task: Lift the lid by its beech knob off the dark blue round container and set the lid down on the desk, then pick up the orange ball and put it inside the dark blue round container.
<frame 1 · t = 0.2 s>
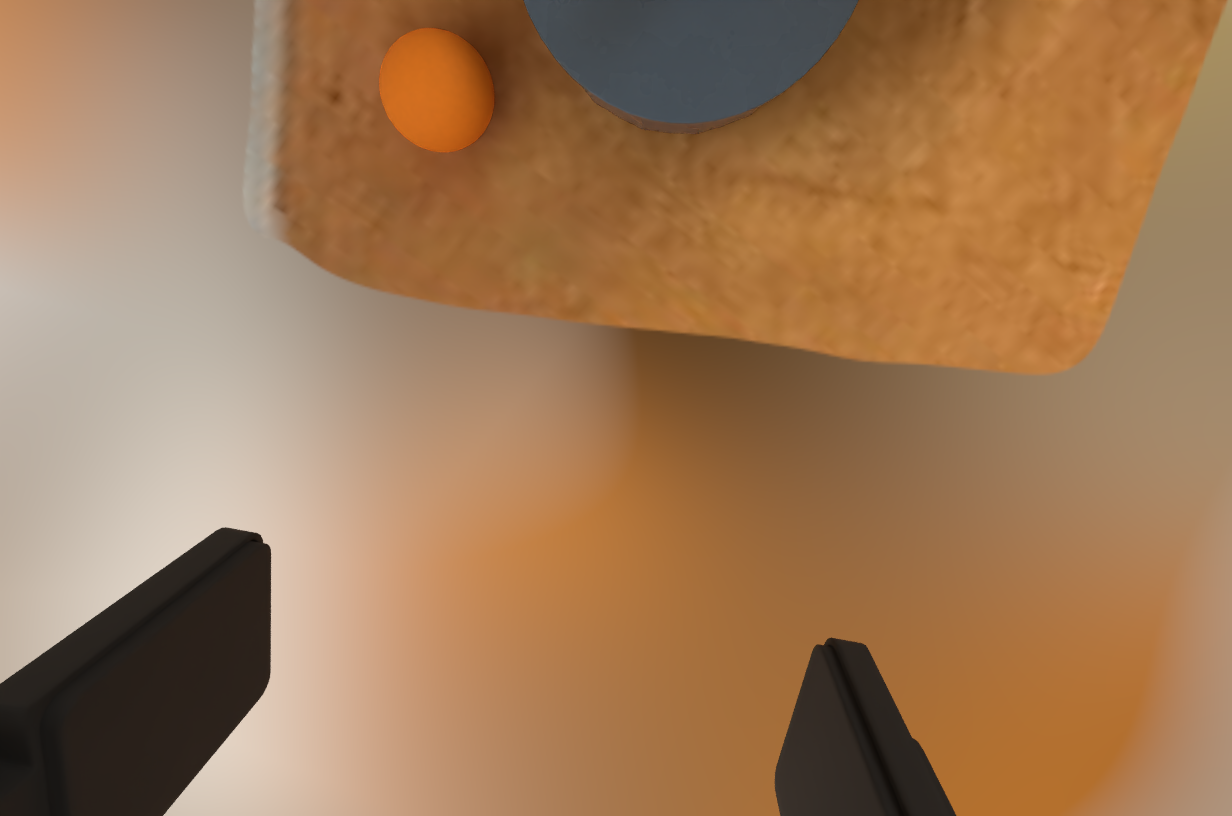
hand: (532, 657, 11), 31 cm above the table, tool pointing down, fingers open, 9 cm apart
orange ball: (438, 92, 34), point 3 cm above the table
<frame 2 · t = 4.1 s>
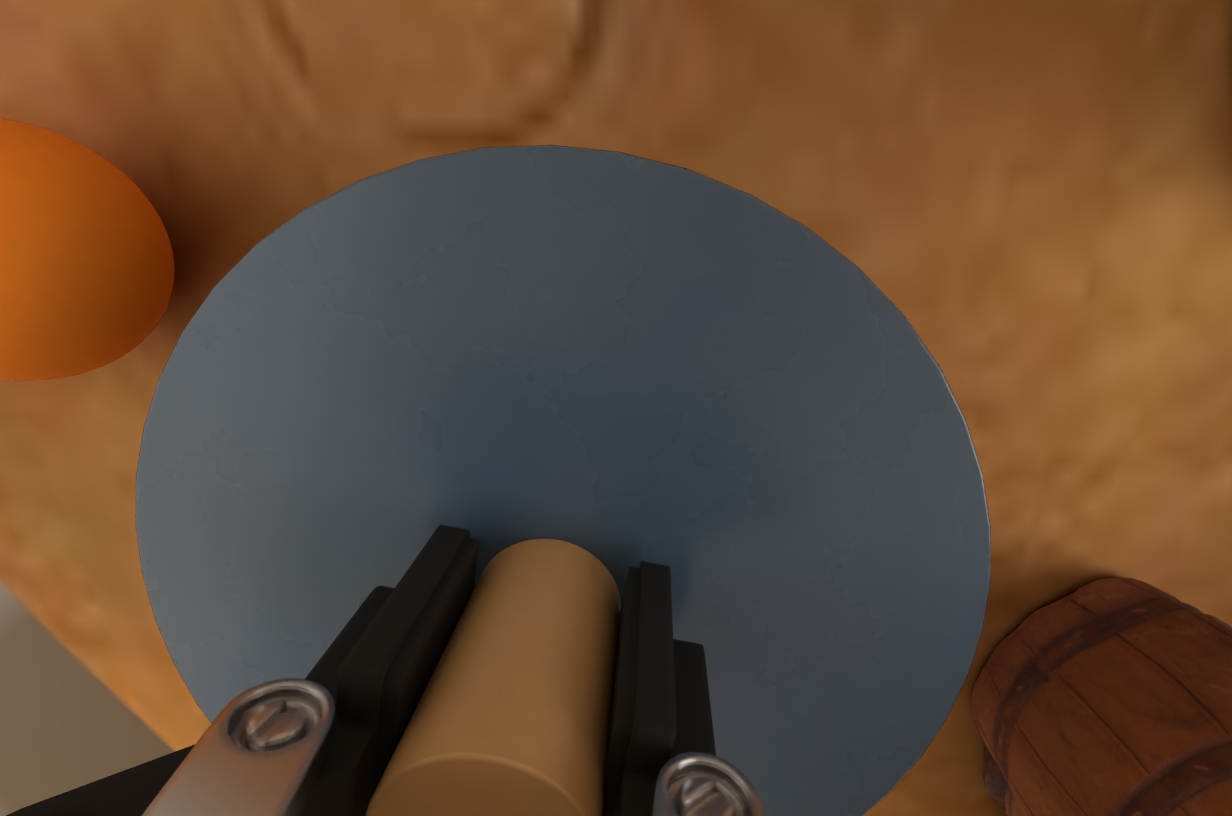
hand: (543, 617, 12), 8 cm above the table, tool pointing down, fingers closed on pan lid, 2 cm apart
pan lid: (552, 587, 13), point 7 cm above the table, touching gripper, dark blue round container
orange ball: (20, 254, 15), point 3 cm above the table
wooden figurine: (1068, 721, 21), on the table
when the fingers open (1 cm above the table, at t = 26.0 s): pan lid stays where it is, point 1 cm above the table.
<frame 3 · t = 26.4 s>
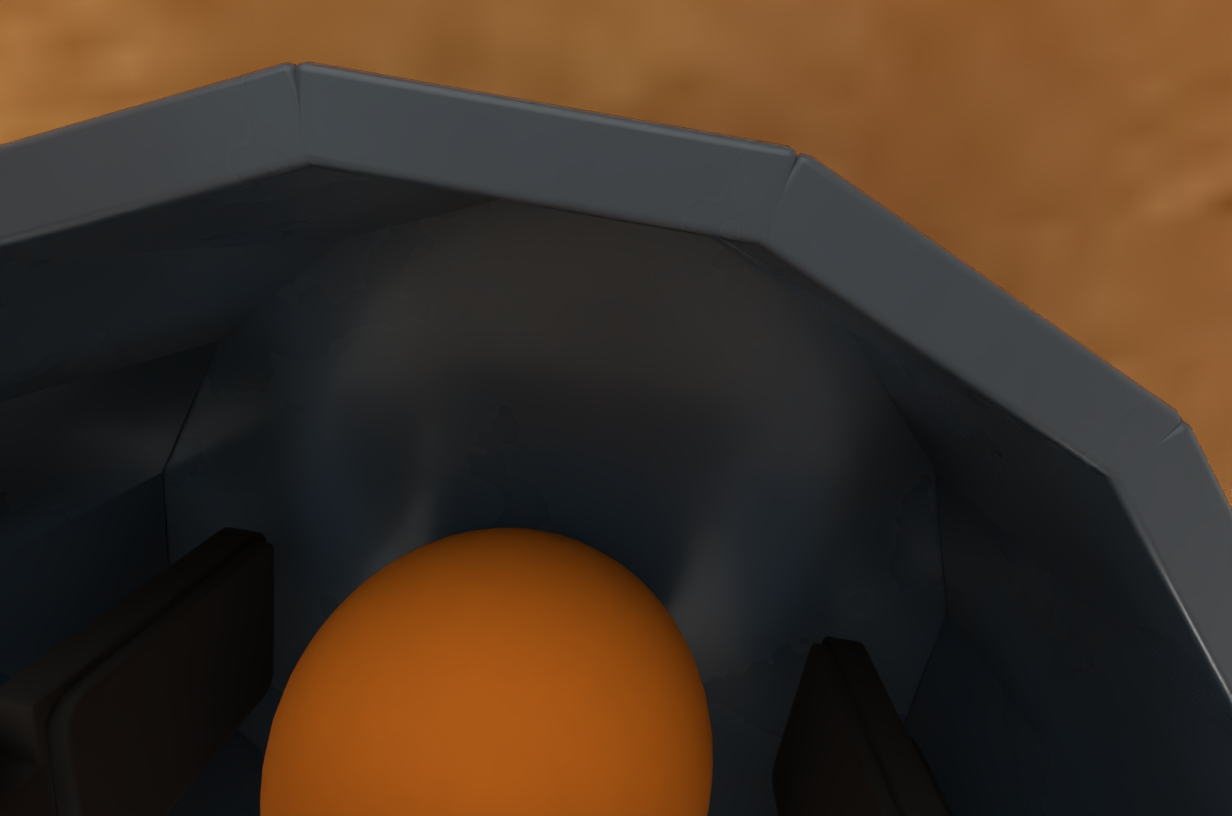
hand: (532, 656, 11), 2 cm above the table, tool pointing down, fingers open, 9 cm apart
orange ball: (501, 740, 9), point 3 cm above the table, tilted 7°, touching dark blue round container
dark blue round container: (547, 592, 12), on the table
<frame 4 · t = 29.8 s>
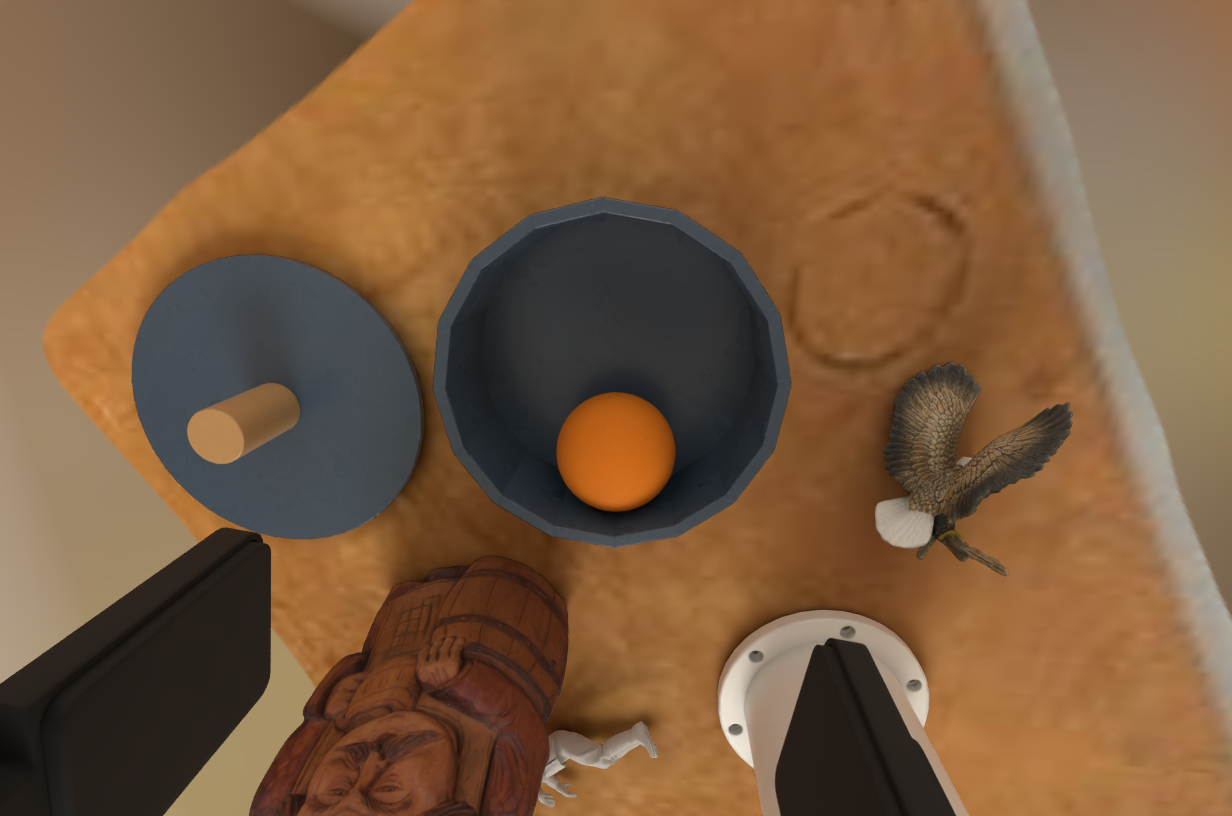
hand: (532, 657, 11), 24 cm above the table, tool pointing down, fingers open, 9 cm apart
pan lid: (281, 404, 35), point 1 cm above the table
orange ball: (616, 451, 32), point 3 cm above the table, tilted 84°, touching dark blue round container
dark blue round container: (617, 356, 34), on the table
eagle figurine: (933, 448, 34), on the table
soldier figure: (567, 735, 42), on the table
wooden figurine: (477, 601, 39), on the table
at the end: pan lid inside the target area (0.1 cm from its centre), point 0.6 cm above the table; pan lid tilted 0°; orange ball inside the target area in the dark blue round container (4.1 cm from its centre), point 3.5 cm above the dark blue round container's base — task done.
